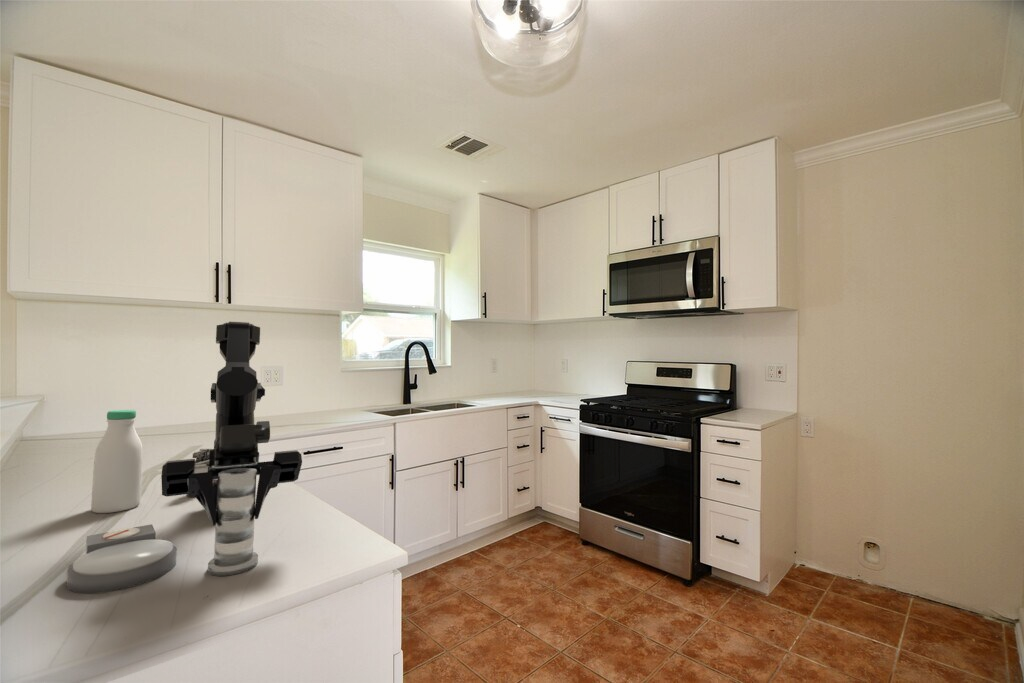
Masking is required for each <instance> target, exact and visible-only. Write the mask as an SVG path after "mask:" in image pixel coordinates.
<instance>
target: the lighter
mask: <svg viewBox="0 0 1024 683" xmlns="http://www.w3.org/2000/svg"><path fill="white" fill-rule="evenodd" d="M210 449H211V448H199V450H197V451H194V452H192V459H195V465H199V464H209V456H210ZM213 480H214V479H213ZM186 498H188V499H190V498H189V497H188V494H186Z"/></svg>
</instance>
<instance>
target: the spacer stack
mask: <svg viewBox="0 0 1024 683" xmlns="http://www.w3.org/2000/svg"><path fill="white" fill-rule="evenodd" d="M256 474H257V470H256V469H253V468H237V469H229V470H225V471H221V472H219V473H218V489H217V509H216V512H217V515H216V525H215V528H214V529H215V530H214V532H215V534H214V553H213V554H214V555H213V558H212V559H210V560H209V561H208V562H207V573H208V574H209V575H211V576H215V577H227V576H235V575H238V574H242V573H246V572H248V571H250V570H251V569H254V568H255V567H256V566H257V565H258V563H259V562H258V561H259V554H258V553H257V552H255V551H254V537H255V503H256V495H257V475H256Z"/></svg>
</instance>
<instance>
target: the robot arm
mask: <svg viewBox="0 0 1024 683" xmlns="http://www.w3.org/2000/svg"><path fill="white" fill-rule="evenodd" d="M215 330H216V333H215V343H216V344H217V345H218V344H219V354H220V355H221V357H222V358H223V360H224V361H225V366H224V367H222V368H220V369H219V370H218V371H217V375H216V382H212V383H211V388H210V402H211V404H212V403H213V404H215V409H216V415H215V439H214V441H213V442H214V443H213V448H209V449H210V456H209V464H199V465H195V460H196V458H189V459H188V458H187V459H174V460H168V461H166V462H165V463H164V464H163V465H162V467H161V495H162V496H164V497H175V496H182V495H187V494H188V497H189V498H188V499H194V498H195V499H196V500H197V501H198V503H199V504H200V505H201V506H202V508H203V509H204V511H205V513H206V515H207V517H208V519H209V521H210V523H211V525H212V526H213V527H214V526H215V527H216V515H217V512H216V509H217V489H218V473H219V472H221V471H225V470H229V469H237V468H253V469H256V470H257V474H256V476H258V482H257V486H256V496H255V518H254V520H258V519H259V517H260V514H261V511H262V508H263V506H264V502H265V499H266V497H267V495H268V494H269V492H270V491H271V489H274V488H277V487H278V486H279V484H282V483H283V484H284V483H293V482H296V481H297V480H298V479H299V476H300V472H301V468H302V464H303V459H302V458H303V457H302V453H301V452H300V451H298V450H294V449H293V450H284V451H274V454H273V460H268V461H259V460H260V452H259V444H266V443H269V441H270V439H271V423H270V421H269V420H264V421H263V420H262V421H257V422H256V423H255V410H256V406H257V405H256V404H257V403H258V402H260V401H261V400H262V398H263V397H265V396H266V388H264V387H263V386H262V384H261V382H258V381H259V380H258V378H257V376H258V375H257V371H256V370H255V369H253V368H252V367H251V366H250V360H252V358H253V357H254V355H255V354H256V353H255V352H256V347H257V346H259V345H260V342H261V327H260V326H257V325H254V324H253V323H250V322H244V321H228V322H224V323H223V324H217V325H216V329H215ZM213 479H214V480H213Z"/></svg>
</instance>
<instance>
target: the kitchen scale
mask: <svg viewBox="0 0 1024 683" xmlns="http://www.w3.org/2000/svg"><path fill="white" fill-rule="evenodd" d="M156 535H157V533H156V530H155V527H154V525H153V524H152V523H151V524H150V523H149V524H146V525H145V524H144V525H140V526H139V525H138V526H135V527H127V528H121V529H120V528H119V529H115V530H112V531H107V532H101V533H97V534H96V533H95V534H91V535H86V544H85V554H83V555H81V556H80V557H79V558H77V559H75V561H74V562H73V563H72V564H71V565H69V567H68V569H67V572H66V573H67V576H66V588H67V589H68V590H69V591H71V592H74V593H79V594H99V593H107V592H113V591H118V590H119V591H120V590H123V589H128V588H132V587H135V586H140V585H142V584H144V583H148V582H150V581H153V580H155V579H157V578H160V577H162V576H163V575H165V574H167V573H169V572H170V571H171V570H172V569H174V567H175V566H176V565H177V553H178V552H177V550H178V548H177V546H176V545H174V544H173V543H172V542H171V541H169V540H165V539H156Z"/></svg>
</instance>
